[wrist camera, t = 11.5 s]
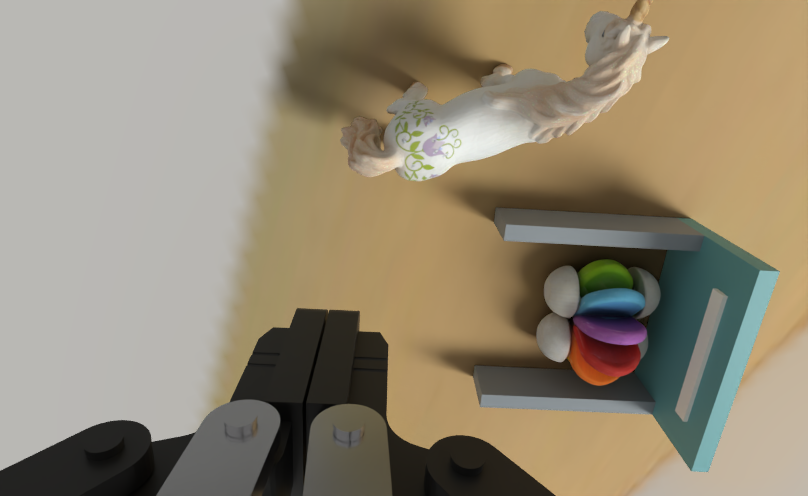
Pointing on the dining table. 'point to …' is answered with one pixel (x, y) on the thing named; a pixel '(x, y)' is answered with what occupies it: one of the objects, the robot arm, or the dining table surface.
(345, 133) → the unicorn figurine
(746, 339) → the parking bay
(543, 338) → the white-wheeled rainbow disc toy
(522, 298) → the dining table surface
